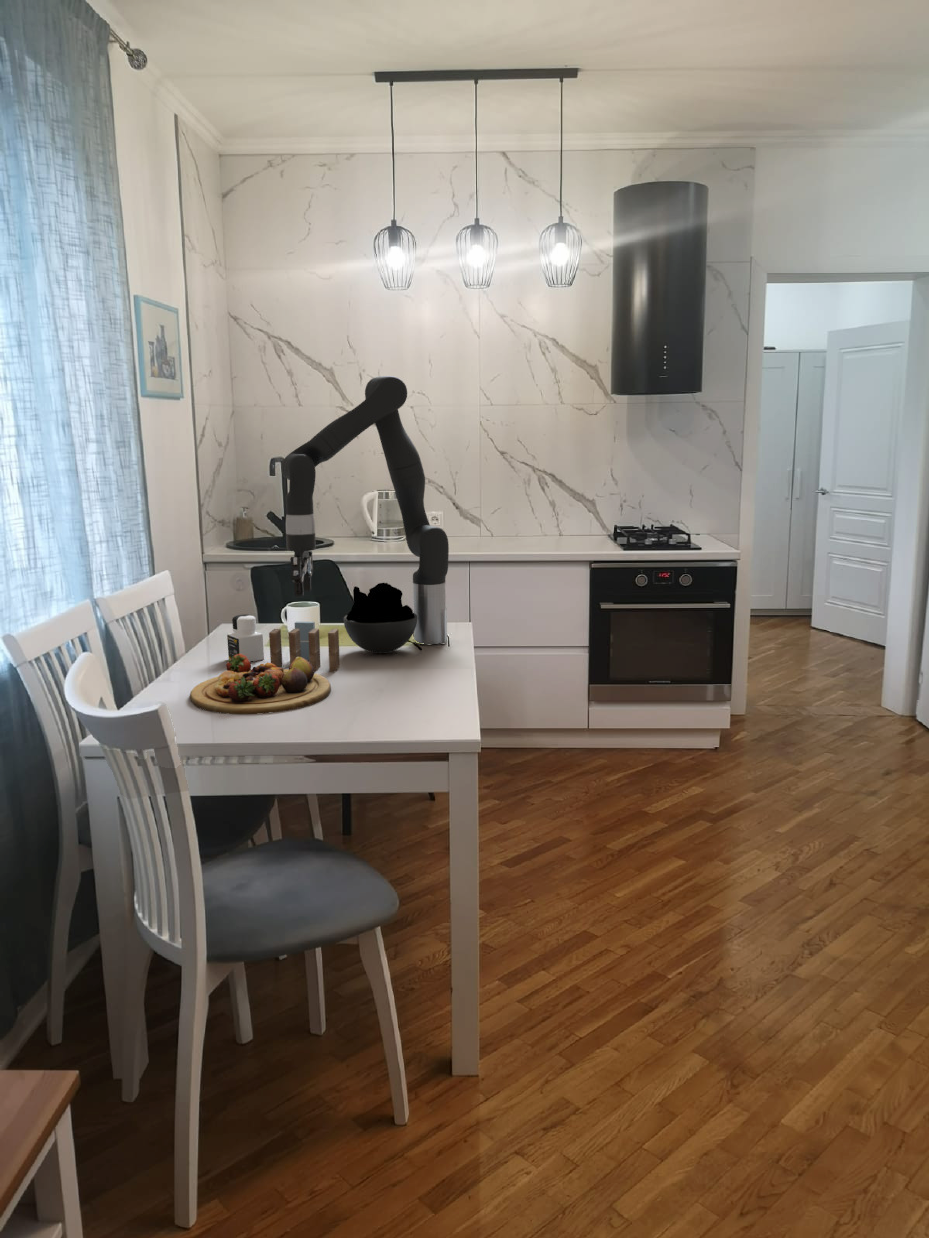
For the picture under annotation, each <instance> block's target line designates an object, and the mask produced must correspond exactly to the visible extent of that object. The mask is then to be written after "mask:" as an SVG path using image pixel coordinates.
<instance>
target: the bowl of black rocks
mask: <svg viewBox="0 0 929 1238" xmlns="http://www.w3.org/2000/svg"><path fill="white" fill-rule="evenodd" d="M352 592H353V593H352V594H353V595H352V596H353V604H352V605H351V610H350V611H349V612H348V613H347V614H346V615H344V617H343V625H344V629H345V631H346V633H347V635H348V637H349V638H350V640H351V641H352V642H353V643H354V644H355V645H357V647H360V649H362V650H365V651H366V652H370V653H373V654H386V653H391V652H395V651H397V650H399V649H400V648H402V647H403V646H404V645H405V644H406V643H407V642H409V640H410V639H411V638H412V636H413V635H414V630H415V628H416V624H417V615H416V614H415V613H414V611H413V609H412V608H411V606H410V605H408V604H404V605H403V602H402V599H403V598H402V597H403V591H402V590H401V589H399V588H397V587H395V586H392V584H390V583H388V582H379V583H377V584H376V585H375V586H373V587H371V588H369V592H368V593H367V594H366V593H365V592H362V591H361V590H360V587H359V586H353V590H352Z"/></svg>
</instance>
